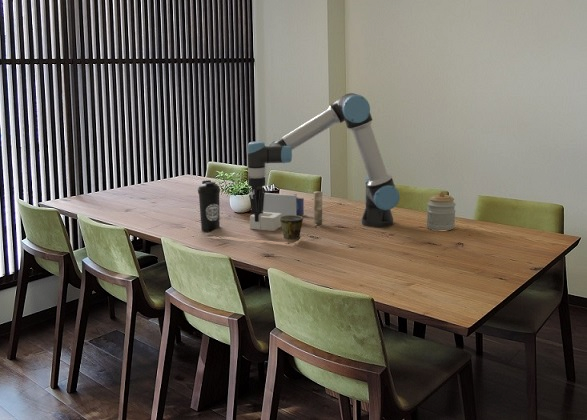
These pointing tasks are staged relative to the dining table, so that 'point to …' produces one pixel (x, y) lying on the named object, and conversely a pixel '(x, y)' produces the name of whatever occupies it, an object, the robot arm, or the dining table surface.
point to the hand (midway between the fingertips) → (258, 228)
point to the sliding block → (267, 221)
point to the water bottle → (209, 205)
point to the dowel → (318, 208)
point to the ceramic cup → (291, 226)
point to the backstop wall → (280, 203)
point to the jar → (441, 212)
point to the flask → (299, 206)
